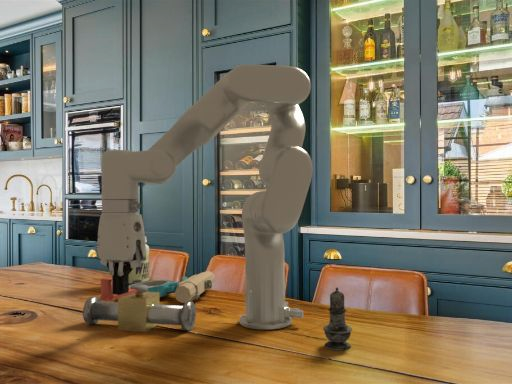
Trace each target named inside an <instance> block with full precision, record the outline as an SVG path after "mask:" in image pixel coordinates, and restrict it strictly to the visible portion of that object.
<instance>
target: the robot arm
mask: <svg viewBox="0 0 512 384" xmlns="http://www.w3.org/2000/svg"><path fill="white" fill-rule="evenodd" d="M311 88H312V84H311V79H310V77H309V76H308V74H307V73H306V72H305V71H304V70H303V69H301V68H299V67H295V66H290V65H289V66H288V65H273V64H272V65H271V64H270V65H269V64H257V63H256V64H253V63H251V64H250V63H247V64H240V65H237V66H235V67H233V68H232V69H231V70H230V71H228V72H227V73H226V74H225V75H223V76H222V77H221V78H220V79H219V80H218V81H216V83H214V85H213V86H212V87H211V88H209V90H207V91H206V92H205V93H204V94H203V95H202V96H201V97H200V98H199V99H198V100H196V102H194V104H193V105H191V107H190V108H188V109H187V110H186V111H185V112H184V113H183V114H182V115H181V116H180V118H178V120H177V121H176V122H175V123H174V124H173V126H171V128H169V129H168V131H166V132H165V133H164V134H163V135H162V136H161V137H160V138H159V139H158V140H157V141H156V142H155V143H154V144H153V145H151V147H149V149H148V150H140V151H139V150H136V151H134V150H130V149H129V150H127V149H110V150H106V151H104V152H103V153H102V155H101V214H100V216H99V222H98V228H97V229H98V230H97V256H98V258H99V259H100V261H99V263H100V265H103V266H105V267H106V268H107V269H108V270H109V274H110V276H111V278H112V288H113V294H117V295H121V294H125V293H128V292H129V274H131V271H132V270H133V268H136V267H140V266H141V265H142V264H141V259H144V258H145V256H146V244H145V237H146V236H145V235H146V234H145V225H144V220H143V216H142V214H139V210H140V209H141V207H142V205H141V203H140V202H139V183H144V184H147V185H151V186H152V185H153V186H154V185H162V184H165V183H167V182H169V181H170V180H171V179H173V177H174V176H175V173H176V169H177V167H179V166H178V165H180V164H181V163H182V162H183V161H184V160H185V159H186V158H188V157H189V156H190V155H191V154H193V153H194V152H195V151H196V150H198V149H200V148H201V147H203V146H204V145H206V144H207V143H209V142H210V141H212V139H213V138H215V137H216V136H218V134H219V133H220V132H221V131H222V130H223V129H224V128H225V127H226V126H227V125H228V124H229V123H230V122H231V121H232V120H233V119H234V118H235V117H236V116H237V115H238V114H239V113H240V112H241V111H242V110H243V109H244V108H245V107H246V106H248V105H249V104H252V103H262V105H263V107H264V109H265V110H266V111H267V113H268V115H269V119H270V122H271V124H270V126H271V127H270V132H269V135H268V136H269V137H268V139H267V142H266V145H265V147H264V148H265V149H264V151H263V155H262V158H261V161H260V163H259V169H258V175H259V179H260V180H261V181H262V183H263V184H265V185H266V186H267V187H266V190H260V191H256V192H254V193H251V194H250V195H249V196H248V197H247V198H246V199H245V201H244V203H243V205H242V207H241V208H242V209H241V221H242V228H243V236H244V238H243V239H244V276H245V277H244V282H245V287H244V289H245V290H244V291H245V299H244V300H245V313H244V314H242V315H240V316H239V319H238V320H239V321H238V323H239V324H240V325H241V326H243V327H244V328H246V329H251V330H262V331H264V330H265V331H268V330H277V329H283V328H287V327H288V326H290V325H291V324H292V322H293V321H292V319H293V318H295V319H303V318H304V310H303V309H300V308H299V307H293V308H292V307H290V306H289V302H288V301H286V283H285V279H286V276H285V275H286V272H285V271H286V270H285V268H286V267H285V265H286V264H285V263H286V261H285V258H286V257H285V253H286V252H285V241H284V235H283V234H285V233H287V232H290V231H291V230H292V229H293V228H294V227H295V226H296V225H297V223H298V221H299V219H300V217H301V215H302V211H303V208H304V206H305V205H304V204H305V202H306V198H307V195H308V191H309V189H310V186H311V181H312V178H313V172H314V171H313V170H314V169H313V162H312V158H311V156H310V154H309V153H308V151H306V150H305V149H304V148H303V144H304V140H305V136H306V122H305V118H304V114H303V111H302V110H301V108H300V104H301V103H303V102H305V100H307V98H308V97H309V95H310V93H311ZM125 264H126V265H125ZM112 275H113V276H112Z"/></svg>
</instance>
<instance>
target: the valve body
mask: <svg viewBox="0 0 512 384" xmlns="http://www.w3.org/2000/svg"><path fill="white" fill-rule="evenodd" d="M160 300H161V299H160V297H159V292H145V293H134V294H131V295H127V296H124V297H120V298H117V301H102V300H100V296H99V297H98V296H90V297H88V299H87V300H85V303H84V305H83V309H82V319H83V321H84V322H85V323H86V324H88V325H95V324H97V323H99V321H106V322H118V327H117V330H118V331H127V332H142V333H147V332H149V331H150V330H151V329H153V328H155V327H156V326H158V325H169V326H181V329H182V330H183V331H191V330H193V328H194V326H195V323H196V318H197V308H196V304H195V303H194V301H189V302H188V301H187V302H184V303H183V304H182V305H177V304H176V305H175V304H160Z"/></svg>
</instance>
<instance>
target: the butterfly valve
mask: <svg viewBox="0 0 512 384" xmlns="http://www.w3.org/2000/svg"><path fill="white" fill-rule="evenodd" d="M215 280H216V276H215V273H213V271H211V270H210V271H209V270H206V271H203V272H200V273H198V274H193V275H192V276H190V277H187V276H183V277H182V278H181V281H174V282H173V281H172V279H154V280H150V281H146V282H141V283H136V284H132V285H129V289H130V287H131V286H134V285H147V286H148V291H147V292H159V298H161V297H165V296H168V295H170V294H174V296H175V299H176V300H177V302H180V303H182V304H184V303H185V302H187V301H188V302H193V301H197V300H198V299H200V298H201V297H200V296H201V294H203V293H204V292H205V291H207V290H209V289H212V287H213V286H214V283H215Z"/></svg>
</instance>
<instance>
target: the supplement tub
mask: <svg viewBox="0 0 512 384" xmlns="http://www.w3.org/2000/svg"><path fill="white" fill-rule="evenodd" d="M147 242H148V241H147V236H145V244H146V243H147ZM141 264H142V265H141V266H140V267H136V268H133V270H132V271H131V274H129V285H132V284H136V283H141V282H146V281H151V280H150V276H151V275H150V246H149V245H148V244H146V256H145V258H144V259H141ZM125 265H126V264H125ZM112 276H113V275H111V277H112Z"/></svg>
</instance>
